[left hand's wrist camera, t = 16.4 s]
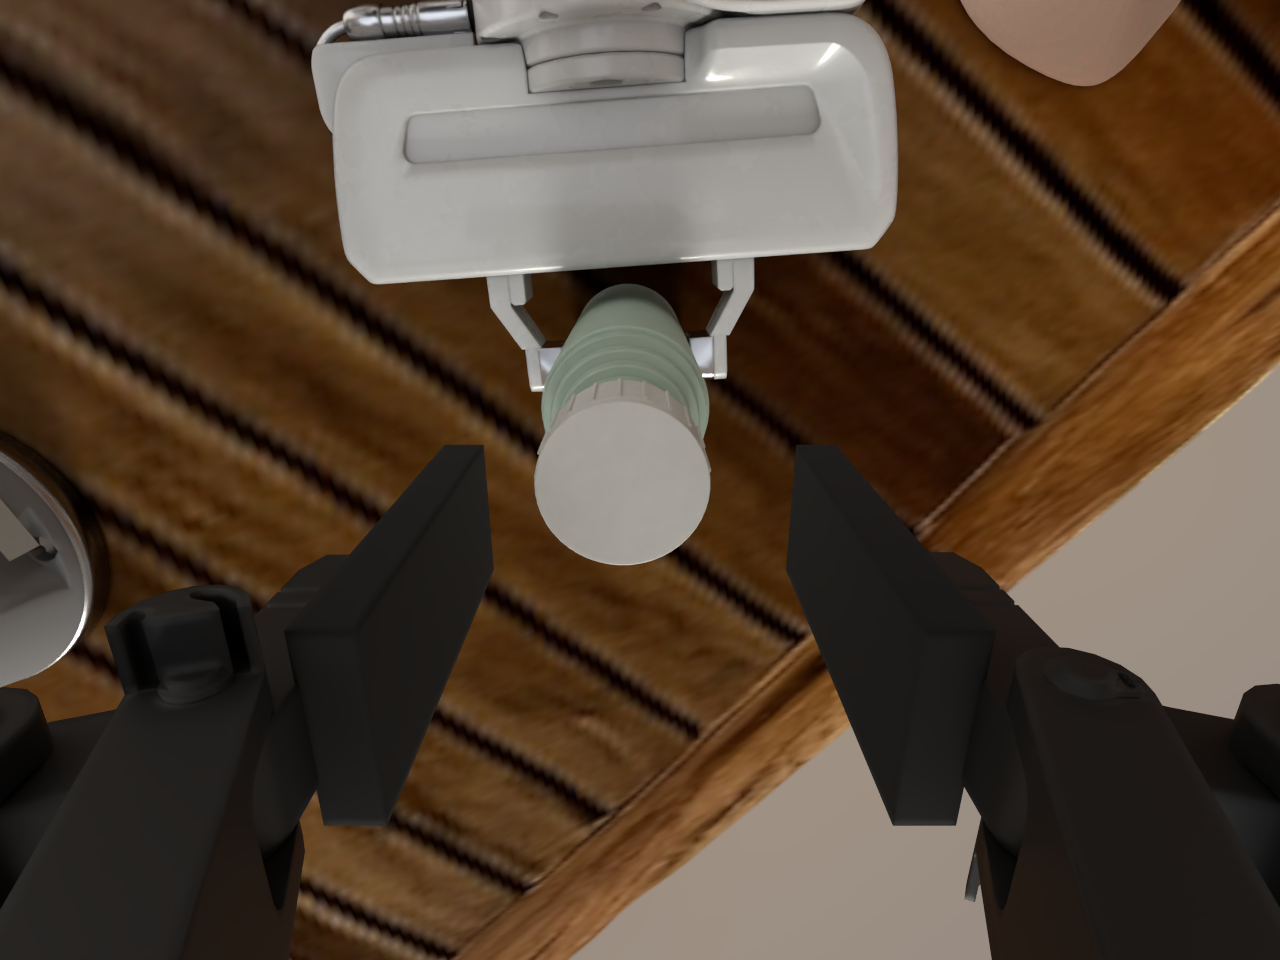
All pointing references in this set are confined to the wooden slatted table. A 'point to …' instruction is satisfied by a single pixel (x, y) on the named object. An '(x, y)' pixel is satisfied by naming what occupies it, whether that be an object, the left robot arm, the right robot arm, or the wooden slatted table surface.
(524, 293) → the right robot arm
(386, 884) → the wooden slatted table surface
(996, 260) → the wooden slatted table surface
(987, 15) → the anatomical model
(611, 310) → the bottle
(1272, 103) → the wooden slatted table surface
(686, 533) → the cap
